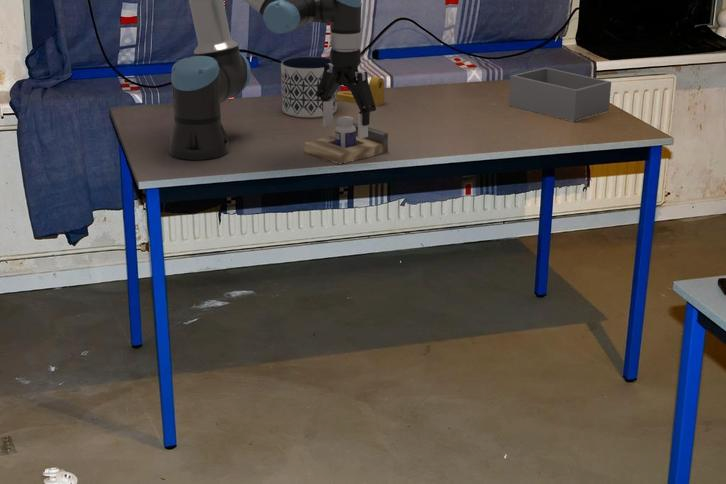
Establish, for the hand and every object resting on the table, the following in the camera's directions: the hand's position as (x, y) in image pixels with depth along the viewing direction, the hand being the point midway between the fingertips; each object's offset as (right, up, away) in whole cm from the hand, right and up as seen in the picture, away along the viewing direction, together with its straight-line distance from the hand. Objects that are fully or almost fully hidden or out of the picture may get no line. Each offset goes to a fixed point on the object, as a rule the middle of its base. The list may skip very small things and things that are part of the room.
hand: (345, 131), depth 278 cm
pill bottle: (0, -5, +2) cm, 6 cm away
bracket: (+3, +14, +49) cm, 51 cm away
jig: (0, -5, +2) cm, 5 cm away
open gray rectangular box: (+62, +11, +41) cm, 75 cm away
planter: (-11, +10, +39) cm, 41 cm away
